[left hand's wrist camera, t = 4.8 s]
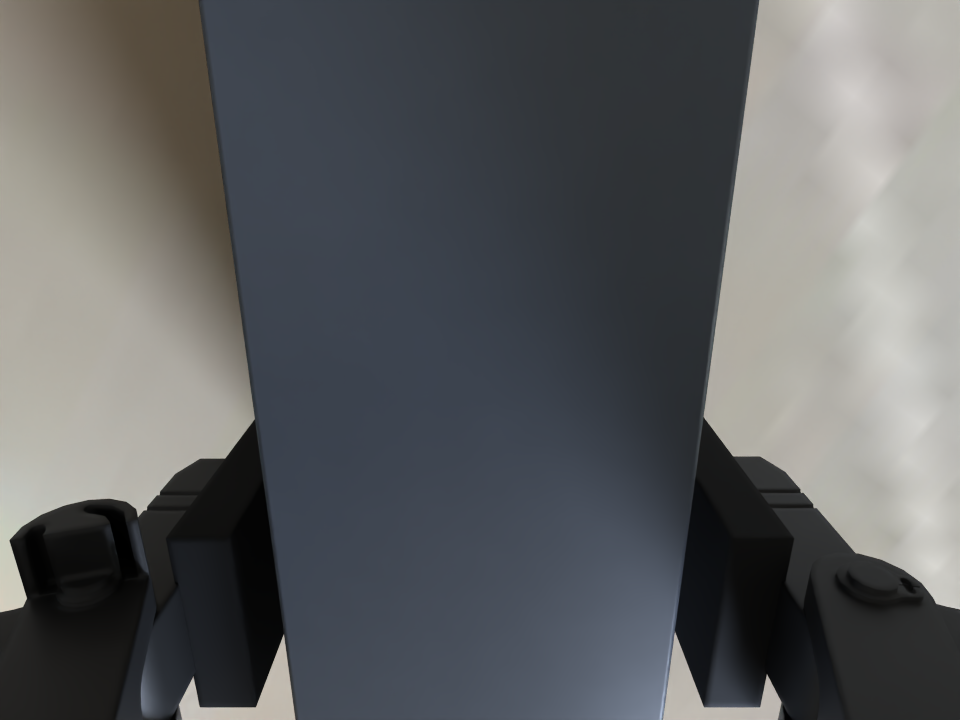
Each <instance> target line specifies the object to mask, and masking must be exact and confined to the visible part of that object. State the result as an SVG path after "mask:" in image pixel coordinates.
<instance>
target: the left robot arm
mask: <svg viewBox="0 0 960 720" xmlns="http://www.w3.org/2000/svg"><path fill="white" fill-rule="evenodd" d="M10 544H11V547H12V550H13V554H14V557H15V560H16V563H17V567H18V570H19V573H20V577H21V580H22V583H23V586H24V590H25V593H26V596H27V600H26V602H25V604H24V606H23V607H22V608H18V609H14V610H10V611H5V612H0V720H182V717H181V713H180V708H179V703H180V701H181V699H182V697H183V695H184V693H185V691H186V690H187V688H188V686H189V684H190V682H191V680H192V678H193V676H194V680H195V685H196V690H197V695H198V700H199V705H200V707H256V706H257V703H258V700H259V698H260V695H261V692H262V690H263V687H264V685H265V682H266V679H267V677H268V674H269V671H270V669H271V666H272V664H273V661H274V658H275V656H276V653H277V650H278V648H279V645H280V643H281V640H282V637H283V635H284V630H283V622H282V615H281V607H280V600H279V593H278V585H277V578H276V570H275V563H274V556H273V548H272V541H271V533H270V526H269V519H268V511H267V504H266V496H265V489H264V481H263V474H262V467H261V459H260V452H259V444H258V437H257V430H256V422H255V420H254V421H253V423H252V424H251V425H250V427H249V428H248V429H247V431H246V432H245V433H244V434H243V436H242V437H241V438H240V440H239V441H238V442H237V444H236V445H235V446H234V448H233V449H232V450H231V452H230V453H229V454H228V456H227V457H226V458H225V459H199V460H198V461H196V462H194V463H193V464H191V465H189V466H188V467H186V468H184V469H183V470H181V471H180V472H178V473H176V474H175V475H174V476H173V477H172V479H171V480H170V481H169V482H168V483H167V484H166V486H165V487H164V488H163V489H162V490H161V491H160V495H157V496H156V497H155V498H154V500H153V501H152V502H151V503H150V504H149V505H148V507H147V511H143V512H142V513H141V515H140V516H139V517H138V516H137V511H136V509H135V508H134V507H132V506H131V505H130V504H128V503H127V502H124V501H118V500H113V499H99V500H87V501H82V502H78V503H74V504H70V505H65V506H62V507H60V508H57V509H55V510H52V511H50V512H47V513H45V514H42V515H40V516H39V517H37V518H36V519H34V520H32V521H31V522H29V523H28V524H26V525H24V526H23V527H21V529H20V530H19V531H18V532H17V533H16V534H15V535H14V536H13V537H12V538H11V539H10ZM675 632H676V635H677V637H678V640H679V643H680V645H681V648H682V650H683V653H684V656H685V658H686V661H687V664H688V666H689V669H690V671H691V674H692V677H693V679H694V682H695V685H696V687H697V690H698V692H699V695H700V698H701V700H702V703H703V706H704V707H760V705H761V700H762V695H763V690H764V685H765V680H766V675H768V677H769V678H770V680H771V682H772V684H773V686H774V688H775V690H776V692H777V694H778V696H779V698H780V700H781V702H782V704H781V708H780V713H779V717H778V720H960V610H959V609H955V608H950V607H945V606H942V605H938V604H936V603H935V601H934V599H933V597H932V596H931V595H930V593H929V592H928V591H927V590H926V588H925V587H924V586H923V584H922V583H920V582H919V581H918V580H916V579H915V578H914V577H912V576H911V575H909V574H908V573H907V572H905V571H904V570H902V569H900V568H898V567H896V566H893V565H891V564H889V563H887V562H885V561H883V560H880V559H876V558H873V557H869V556H865V555H861V554H856V553H855V552H854V551H853V550H852V549H851V548H850V546H849V545H848V544H847V543H846V542H845V541H844V539H843V538H842V537H841V536H840V535H839V534H838V533H837V531H836V530H835V529H834V528H833V527H832V526H831V524H830V523H829V522H828V521H827V520H826V519H825V517H824V516H823V515H822V514H821V513H820V512H819V511H818V509H817V508H813V504H812V502H811V501H810V500H809V499H808V498H807V497H806V496H805V494H804V493H801V492H800V489H799V487H798V486H797V485H796V484H795V483H794V482H793V481H792V479H791V478H790V477H789V476H788V475H787V474H786V472H784V471H783V470H781V469H779V468H778V467H776V466H775V465H773V464H771V463H770V462H768V461H766V460H765V459H763V458H761V457H733V456H732V454H731V453H730V452H729V451H728V449H727V448H726V447H725V445H724V444H723V443H722V441H721V440H720V439H719V437H718V436H717V435H716V433H715V432H714V431H713V429H712V428H711V427H710V425H709V424H708V423H707V421H706V420H705V419H704V417H703V424H702V431H701V439H700V446H699V454H698V461H697V469H696V476H695V484H694V491H693V499H692V506H691V513H690V521H689V528H688V536H687V543H686V551H685V558H684V566H683V573H682V581H681V588H680V596H679V603H678V611H677V618H676V626H675Z"/></svg>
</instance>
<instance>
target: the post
mask: <svg viewBox="0 0 960 720" xmlns="http://www.w3.org/2000/svg"><path fill="white" fill-rule="evenodd" d="M758 5H759V0H199V7H200V15H201V22H202V29H203V37H204V44H205V52H206V59H207V67H208V74H209V81H210V89H211V96H212V104H213V111H214V118H215V126H216V133H217V141H218V148H219V155H220V163H221V170H222V178H223V185H224V192H225V200H226V207H227V215H228V222H229V230H230V237H231V244H232V252H233V259H234V267H235V274H236V281H237V289H238V296H239V304H240V311H241V318H242V326H243V333H244V341H245V348H246V356H247V363H248V370H249V378H250V385H251V393H252V400H253V407H254V415H255V422H256V430H257V437H258V444H259V452H260V459H261V467H262V474H263V481H264V489H265V496H266V504H267V511H268V519H269V526H270V533H271V541H272V548H273V556H274V563H275V570H276V578H277V585H278V593H279V600H280V607H281V615H282V622H283V630H284V637H285V644H286V652H287V659H288V667H289V674H290V682H291V689H292V696H293V704H294V711H295V719H296V720H663V715H664V708H665V700H666V693H667V685H668V678H669V670H670V663H671V655H672V648H673V640H674V633H675V626H676V618H677V611H678V603H679V596H680V588H681V581H682V573H683V566H684V558H685V551H686V543H687V536H688V528H689V521H690V513H691V506H692V499H693V491H694V484H695V476H696V469H697V461H698V454H699V446H700V439H701V431H702V424H703V416H704V409H705V401H706V394H707V386H708V379H709V372H710V364H711V357H712V349H713V342H714V334H715V327H716V319H717V312H718V304H719V297H720V289H721V282H722V274H723V267H724V259H725V252H726V245H727V237H728V230H729V222H730V215H731V207H732V200H733V192H734V185H735V177H736V170H737V162H738V155H739V147H740V140H741V132H742V125H743V118H744V110H745V103H746V95H747V88H748V80H749V73H750V65H751V58H752V50H753V43H754V35H755V28H756V20H757V13H758Z"/></svg>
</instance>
